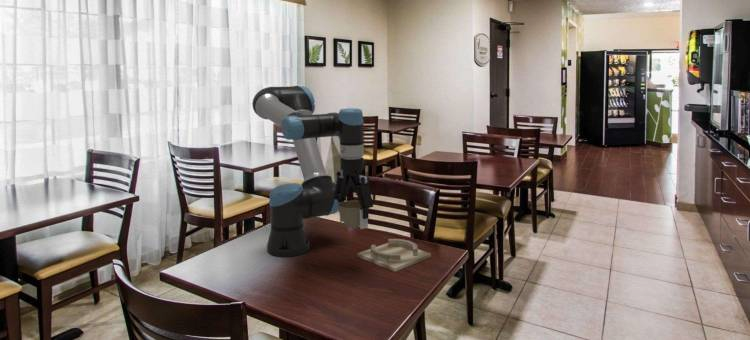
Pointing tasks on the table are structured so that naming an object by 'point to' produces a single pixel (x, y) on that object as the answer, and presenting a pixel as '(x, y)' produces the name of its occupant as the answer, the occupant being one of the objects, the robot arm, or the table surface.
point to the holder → (394, 254)
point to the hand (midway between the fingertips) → (353, 224)
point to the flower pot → (350, 213)
